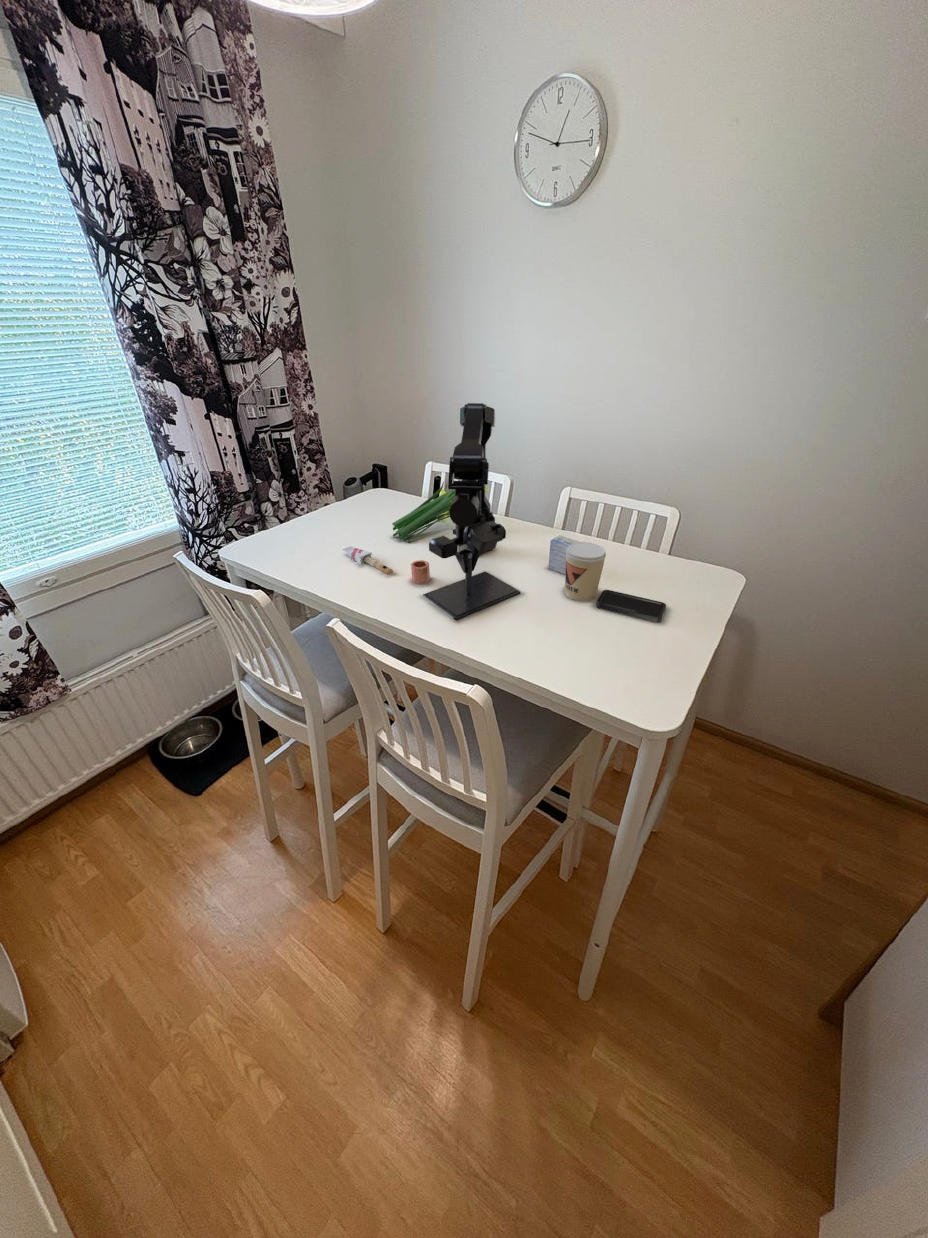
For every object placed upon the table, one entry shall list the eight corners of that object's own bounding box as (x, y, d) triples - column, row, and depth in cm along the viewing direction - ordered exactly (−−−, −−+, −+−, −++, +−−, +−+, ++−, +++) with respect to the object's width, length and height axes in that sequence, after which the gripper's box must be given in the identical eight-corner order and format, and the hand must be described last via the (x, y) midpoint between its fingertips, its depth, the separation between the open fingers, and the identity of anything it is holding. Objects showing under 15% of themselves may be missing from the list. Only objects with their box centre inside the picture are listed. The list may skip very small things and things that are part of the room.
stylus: (469, 591, 122) (469, 552, 116) (473, 593, 121) (473, 555, 115) (464, 593, 121) (463, 554, 115) (468, 595, 120) (468, 556, 114)
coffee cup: (554, 588, 125) (558, 545, 118) (584, 581, 128) (591, 538, 121) (575, 606, 117) (581, 561, 111) (607, 597, 121) (614, 553, 114)
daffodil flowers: (381, 532, 158) (461, 482, 171) (409, 564, 156) (489, 511, 168) (381, 500, 143) (469, 448, 156) (412, 536, 140) (500, 480, 153)
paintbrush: (351, 541, 143) (395, 565, 131) (352, 549, 144) (395, 574, 133) (340, 545, 140) (383, 570, 129) (341, 553, 142) (384, 579, 131)
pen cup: (423, 575, 131) (422, 558, 128) (433, 582, 128) (432, 564, 125) (409, 580, 129) (407, 563, 126) (418, 587, 126) (417, 570, 123)
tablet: (485, 573, 132) (485, 570, 131) (520, 593, 123) (520, 590, 122) (423, 596, 122) (422, 593, 121) (456, 620, 112) (456, 617, 112)
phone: (604, 588, 122) (667, 603, 116) (603, 592, 122) (665, 607, 116) (595, 603, 116) (661, 619, 110) (594, 607, 117) (660, 623, 111)
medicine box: (581, 572, 132) (585, 542, 127) (572, 578, 129) (575, 547, 125) (556, 563, 137) (559, 534, 132) (547, 568, 134) (550, 539, 129)
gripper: (456, 530, 99) (457, 597, 108) (523, 510, 109) (519, 572, 117) (425, 515, 107) (429, 578, 115) (491, 497, 116) (489, 556, 125)
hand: (468, 571), depth 118 cm, fingers closed on stylus, 1 cm apart
